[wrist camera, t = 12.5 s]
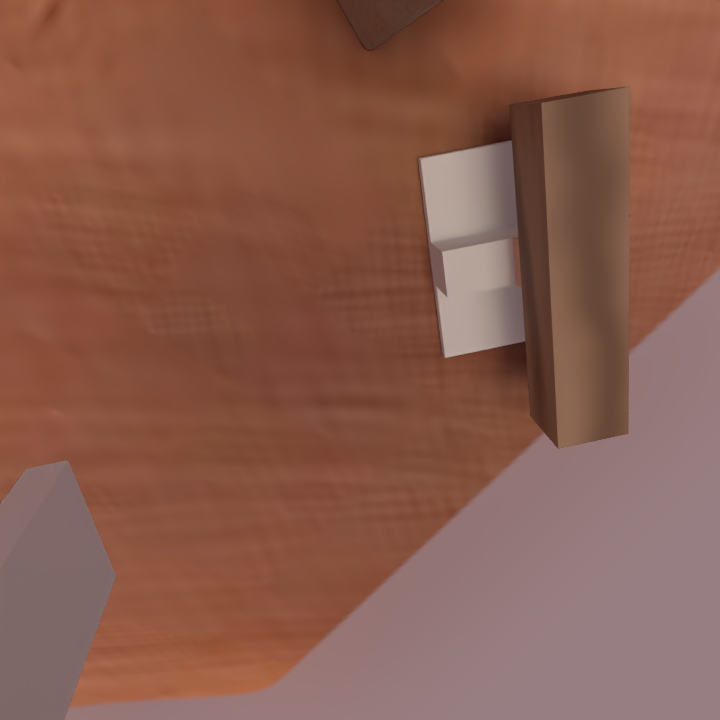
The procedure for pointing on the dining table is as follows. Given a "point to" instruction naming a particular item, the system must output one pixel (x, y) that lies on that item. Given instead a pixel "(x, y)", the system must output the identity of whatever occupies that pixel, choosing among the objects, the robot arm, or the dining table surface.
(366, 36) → the wooden block
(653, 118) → the dining table surface
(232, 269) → the dining table surface
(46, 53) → the dining table surface
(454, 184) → the stand
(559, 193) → the beam
